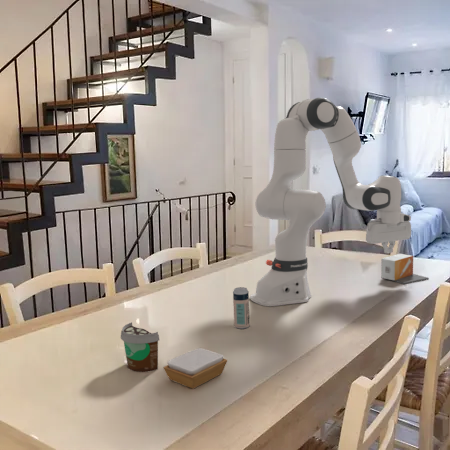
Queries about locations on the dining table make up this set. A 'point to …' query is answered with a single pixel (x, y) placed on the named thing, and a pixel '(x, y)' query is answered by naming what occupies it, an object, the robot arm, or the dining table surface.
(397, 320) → the dining table surface
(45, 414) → the dining table surface
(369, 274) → the dining table surface
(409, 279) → the mat
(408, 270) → the small box
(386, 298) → the dining table surface
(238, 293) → the supplement bottle
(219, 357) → the soap dish
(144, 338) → the food container
